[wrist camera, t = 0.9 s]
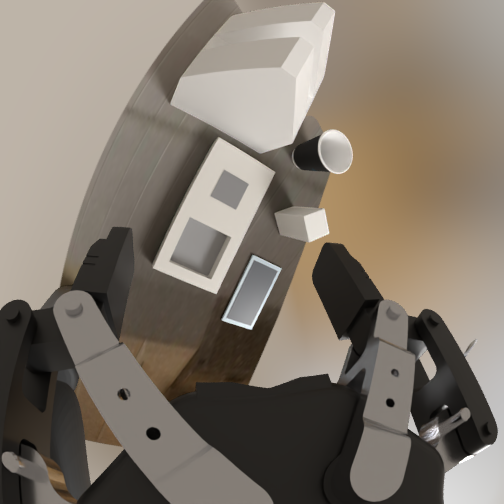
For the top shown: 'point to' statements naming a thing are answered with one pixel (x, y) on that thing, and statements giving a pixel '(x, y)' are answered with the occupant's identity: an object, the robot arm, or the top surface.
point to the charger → (302, 223)
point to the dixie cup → (324, 153)
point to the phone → (251, 293)
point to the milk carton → (259, 74)
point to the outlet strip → (213, 217)
